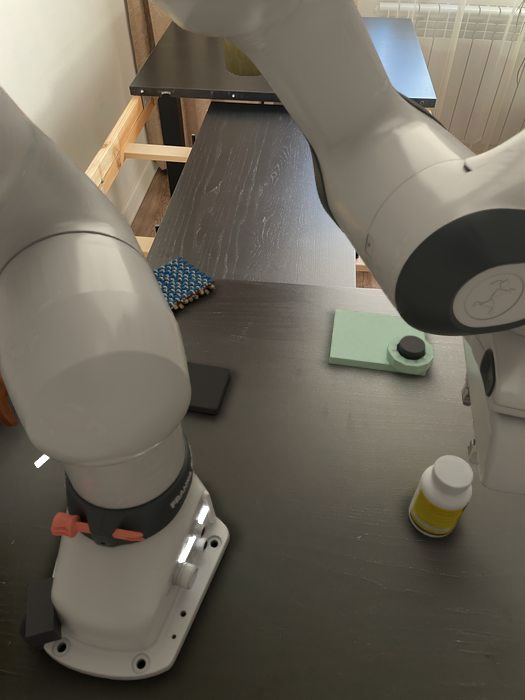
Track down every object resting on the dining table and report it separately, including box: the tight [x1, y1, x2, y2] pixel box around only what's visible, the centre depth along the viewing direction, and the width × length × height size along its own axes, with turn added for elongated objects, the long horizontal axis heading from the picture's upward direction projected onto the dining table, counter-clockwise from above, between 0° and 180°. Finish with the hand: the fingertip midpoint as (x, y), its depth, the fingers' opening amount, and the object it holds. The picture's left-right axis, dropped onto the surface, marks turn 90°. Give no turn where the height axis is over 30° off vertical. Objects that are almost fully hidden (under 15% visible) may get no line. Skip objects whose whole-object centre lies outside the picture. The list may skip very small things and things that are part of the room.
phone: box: [187, 361, 231, 415], centre depth 76 cm, size 8×1×15 cm
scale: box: [328, 308, 435, 377], centre depth 81 cm, size 12×15×3 cm
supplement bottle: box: [408, 454, 474, 538], centre depth 59 cm, size 5×5×10 cm
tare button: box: [398, 336, 425, 360], centre depth 77 cm, size 4×4×2 cm
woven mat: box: [152, 256, 215, 314], centre depth 91 cm, size 10×11×2 cm
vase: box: [222, 38, 262, 76], centre depth 156 cm, size 17×17×27 cm
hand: (473, 428), depth 50 cm, fingers open, 5 cm apart
